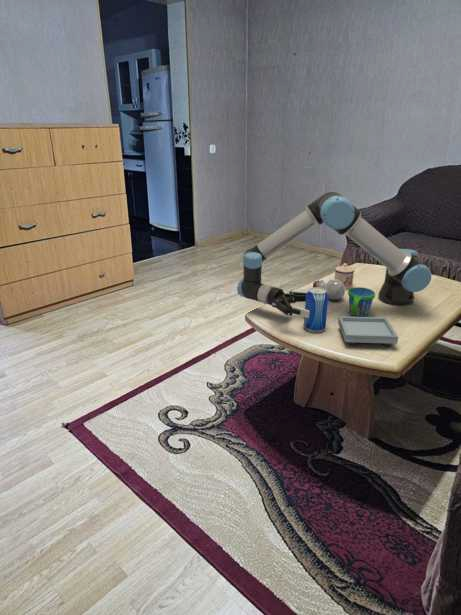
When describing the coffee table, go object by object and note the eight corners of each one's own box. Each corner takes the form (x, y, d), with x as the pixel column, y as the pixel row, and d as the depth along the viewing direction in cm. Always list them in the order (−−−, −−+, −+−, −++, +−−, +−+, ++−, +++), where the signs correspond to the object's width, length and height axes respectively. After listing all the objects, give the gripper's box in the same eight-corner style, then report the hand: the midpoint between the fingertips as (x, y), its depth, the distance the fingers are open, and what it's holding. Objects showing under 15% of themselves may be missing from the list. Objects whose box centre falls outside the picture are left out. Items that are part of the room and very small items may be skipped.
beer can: (301, 324, 173) (303, 286, 166) (321, 323, 173) (325, 286, 167) (306, 334, 165) (309, 294, 159) (328, 333, 166) (332, 294, 159)
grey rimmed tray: (384, 329, 168) (386, 317, 166) (396, 349, 154) (398, 336, 152) (337, 328, 170) (338, 316, 167) (344, 347, 155) (346, 335, 153)
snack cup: (363, 324, 173) (366, 300, 169) (338, 317, 179) (341, 294, 175) (378, 311, 184) (381, 289, 180) (354, 305, 190) (357, 283, 186)
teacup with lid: (344, 291, 206) (347, 267, 201) (329, 286, 212) (331, 263, 208) (359, 285, 213) (362, 262, 209) (344, 280, 220) (346, 258, 215)
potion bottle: (342, 306, 193) (314, 300, 204) (352, 289, 196) (324, 285, 207) (334, 293, 187) (307, 288, 198) (345, 276, 190) (317, 272, 201)
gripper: (287, 295, 188) (332, 307, 175) (252, 313, 170) (300, 328, 158) (288, 279, 185) (333, 290, 172) (253, 295, 167) (301, 309, 155)
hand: (318, 308), depth 165 cm, fingers open, 13 cm apart
